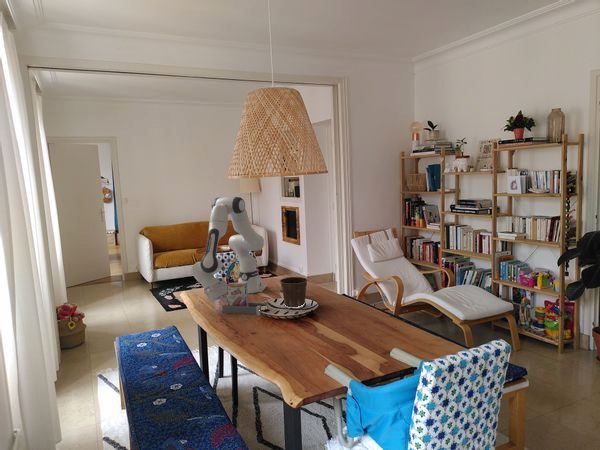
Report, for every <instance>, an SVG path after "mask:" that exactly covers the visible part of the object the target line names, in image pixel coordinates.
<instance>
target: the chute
mask: <svg viewBox="0 0 600 450" xmlns="http://www.w3.org/2000/svg"><path fill="white" fill-rule="evenodd" d="M268 302H269V301H268V300H264V301H262V302H253V301H251V302H250V301H248V306H249V307H245V306H229V305H228V304H227V305H225V304H222V305H221V308H222V313H226V314H227V313H228V314H240V315H254V316H255V315H256V316H261V315H262V310H261V306H267V305H268V304H269V303H268ZM259 310H261V312H260V311H259Z"/></svg>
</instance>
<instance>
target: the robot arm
mask: <svg viewBox="0 0 600 450" xmlns="http://www.w3.org/2000/svg"><path fill="white" fill-rule="evenodd" d="M229 216H230V219H231V223H232V226H233V227H232V228H233V230H234V231H235V232H236V233H238V234H234V235H231V236H230V237H229V240H228V245H229V248H230V249H231V250H232V251H233V252H234V253H235V254H236V256H237V258H238V263H239V274H238V275H239V278H238V282H237V283H247V288H248V294H255V293H261V292H263V291H265V289H266V288H267V284H264V281H263V278H262V277H260V276H259V273H260V270H259V269H257V261H256V258H255V257H254V256H253V255H251V253H250V252H255V251H256V252H257V251H261V250H263V248H264V246H265V240H264V237H263V236H262V235H260V234H259V233H258V232H257V231H255V229H254V228H253V227H252V224H251V222H250V220H249V219H250V218H249V215H248V212H247V209H246V202H245V200H244V199H243V198H242V197H239V196H223V197H216V198H214V199H213V200H212V202H211V212H210V216H209V224H208V233H207V234H208V236H207V241H206V246H205V251H204V254H203V256H202V258H201V260H200V261H196V262H195V263H194V264H193V265H192V267H191V270H190V272H191V274H192V276H193V277H194V278H195V280H196V281H197V282H198V283H200V285H201V286H202V288H203V293H204V295H205V297H206V298H207V299H208V301H209V302H210V303H214V302H217V300H219V301H221V302H223V303H224V304H228V293H227V283H226V282H225V281H224V279H223V278H221V277H215V276H214V275H216V274H218V273H219V272H221V270H222V268H223V262H222V260H221V259H220V258H218V257H217V250H218V245H219V241H220V239H221V238H222V237H224V236H225V235H226V233H227V229H228V224H229Z"/></svg>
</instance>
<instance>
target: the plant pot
mask: <svg viewBox="0 0 600 450" xmlns="http://www.w3.org/2000/svg"><path fill="white" fill-rule="evenodd" d="M308 281H309V280H308V278H306V277H301V276H290V277H283V278H281V279H280V280H279V282H280V285H281V290H282V296H283V302H284V303H283V304H285V305H286V306H288V307H298V306H301V305H303V304H304V303H305V304H306V297H307V296H306V295H307V293H306V292H307V286H308V284H307V282H308ZM285 305H284V306H285Z"/></svg>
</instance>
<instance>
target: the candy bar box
mask: <svg viewBox="0 0 600 450" xmlns="http://www.w3.org/2000/svg"><path fill="white" fill-rule="evenodd" d="M226 284H227V283H226ZM227 293H228V294H227V298H228V302H227V305H229V306H245V307H249V306H248V302H249V293H248V288H247V283H238V282H228V284H227Z"/></svg>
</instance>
